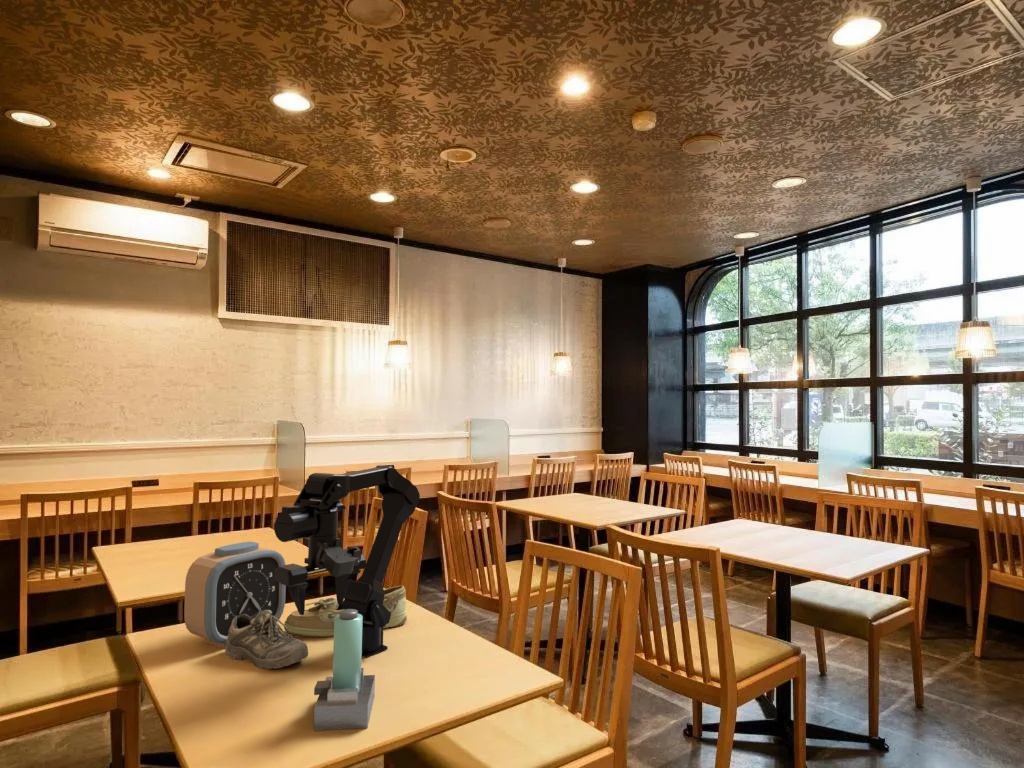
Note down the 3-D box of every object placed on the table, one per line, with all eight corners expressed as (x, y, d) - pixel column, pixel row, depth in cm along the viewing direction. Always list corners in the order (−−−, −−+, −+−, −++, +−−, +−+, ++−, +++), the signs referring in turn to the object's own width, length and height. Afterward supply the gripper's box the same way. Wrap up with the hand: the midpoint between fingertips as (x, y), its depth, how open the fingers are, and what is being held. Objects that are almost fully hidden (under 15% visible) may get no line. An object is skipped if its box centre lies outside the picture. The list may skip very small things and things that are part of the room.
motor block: (321, 698, 121) (322, 667, 121) (374, 696, 122) (375, 665, 122) (308, 730, 109) (309, 696, 109) (367, 728, 110) (368, 694, 110)
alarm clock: (208, 656, 140) (210, 557, 140) (183, 646, 145) (186, 551, 145) (285, 628, 157) (287, 540, 158) (261, 621, 162) (263, 536, 163)
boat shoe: (281, 629, 157) (282, 591, 158) (399, 613, 170) (400, 578, 170) (285, 644, 147) (286, 604, 148) (410, 627, 160) (411, 589, 160)
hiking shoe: (284, 668, 129) (300, 607, 135) (206, 663, 137) (225, 605, 143) (311, 676, 136) (326, 617, 142) (236, 670, 144) (253, 615, 150)
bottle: (341, 682, 118) (343, 606, 119) (365, 685, 117) (367, 609, 118) (326, 693, 114) (329, 614, 114) (351, 697, 112) (354, 617, 113)
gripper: (305, 546, 121) (303, 630, 120) (383, 532, 135) (381, 606, 134) (274, 538, 128) (271, 617, 127) (350, 525, 142) (349, 596, 141)
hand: (321, 609), depth 132 cm, fingers open, 9 cm apart
